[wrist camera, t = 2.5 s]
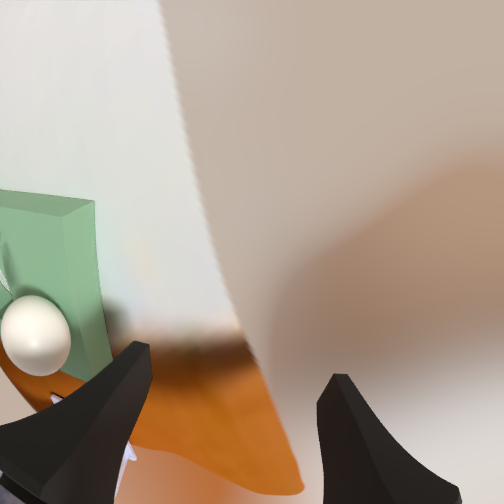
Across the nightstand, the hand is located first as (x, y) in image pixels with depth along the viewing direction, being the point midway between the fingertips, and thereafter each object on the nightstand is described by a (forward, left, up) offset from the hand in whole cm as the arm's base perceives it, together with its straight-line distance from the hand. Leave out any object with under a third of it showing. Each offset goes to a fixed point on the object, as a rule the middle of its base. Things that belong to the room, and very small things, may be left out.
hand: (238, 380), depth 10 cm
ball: (0, +9, +1) cm, 9 cm away
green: (0, +14, -3) cm, 14 cm away
